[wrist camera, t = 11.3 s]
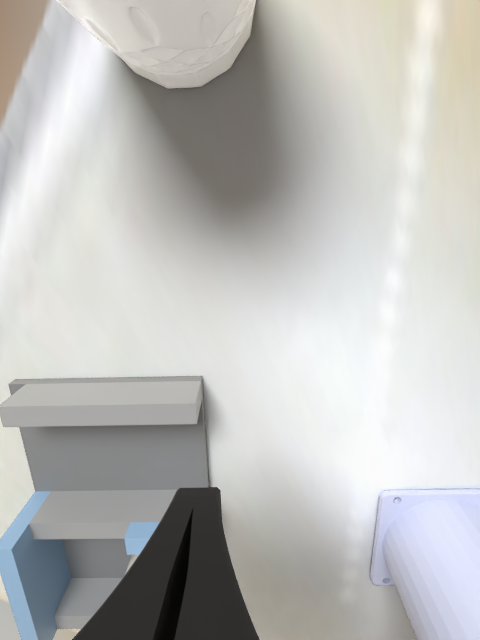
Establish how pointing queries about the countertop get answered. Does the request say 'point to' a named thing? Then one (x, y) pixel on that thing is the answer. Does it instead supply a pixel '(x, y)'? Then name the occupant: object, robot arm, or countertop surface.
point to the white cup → (169, 35)
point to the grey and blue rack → (94, 487)
